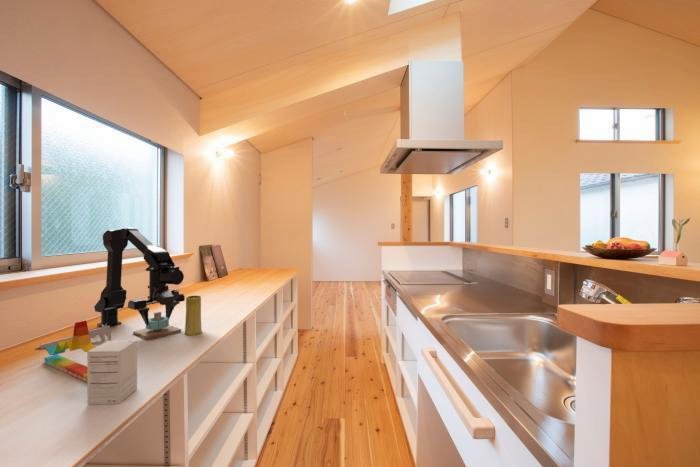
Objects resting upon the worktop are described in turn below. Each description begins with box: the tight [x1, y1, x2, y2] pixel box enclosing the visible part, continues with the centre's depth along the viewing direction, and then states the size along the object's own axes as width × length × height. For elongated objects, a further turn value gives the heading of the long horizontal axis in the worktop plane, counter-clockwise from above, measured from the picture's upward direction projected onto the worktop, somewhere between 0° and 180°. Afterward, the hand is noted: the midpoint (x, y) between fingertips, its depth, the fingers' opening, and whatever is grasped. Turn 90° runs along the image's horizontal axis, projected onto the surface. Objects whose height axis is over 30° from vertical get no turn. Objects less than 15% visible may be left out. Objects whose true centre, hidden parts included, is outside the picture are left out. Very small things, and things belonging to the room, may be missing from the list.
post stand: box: [132, 311, 182, 341], centre depth 124 cm, size 12×12×8 cm
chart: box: [43, 320, 97, 383], centre depth 90 cm, size 30×3×15 cm, turn 63°
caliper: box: [34, 323, 112, 350], centre depth 111 cm, size 20×1×6 cm, turn 120°
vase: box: [184, 294, 203, 336], centre depth 125 cm, size 6×6×14 cm
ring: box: [145, 315, 170, 330], centre depth 124 cm, size 7×7×3 cm
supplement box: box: [86, 339, 138, 406], centre depth 77 cm, size 7×7×13 cm
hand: (157, 322), depth 124 cm, fingers open, 7 cm apart
